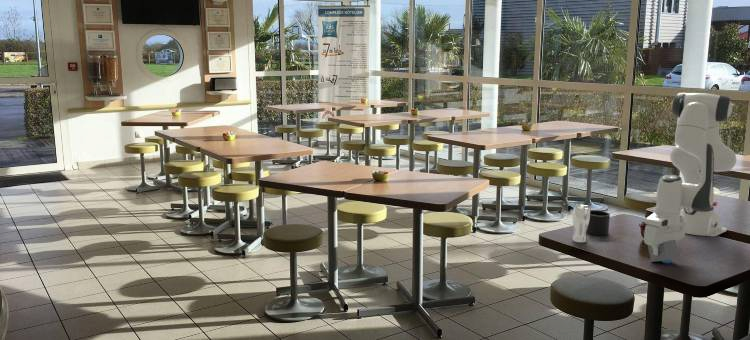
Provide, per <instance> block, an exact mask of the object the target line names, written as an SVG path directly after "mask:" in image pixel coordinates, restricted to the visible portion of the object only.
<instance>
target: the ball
mask: <svg viewBox="0 0 750 340" xmlns="http://www.w3.org/2000/svg"><path fill="white" fill-rule="evenodd" d="M673 260H674V259H671V260H665V261H661V262H662V263H663V264H670V263H672V262H673Z"/></svg>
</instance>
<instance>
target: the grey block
mask: <svg viewBox="0 0 750 340" xmlns="http://www.w3.org/2000/svg"><path fill="white" fill-rule="evenodd" d="M647 248H648V253H649V257H650V261H651V263H652V262H654V263H655V262H662V261H665V260H671V259H673V260H675V259H678V258H681V257H680V253H679V248H678V243H676V240H673V241H669V242H664V243H663V244H659V247H658V250H659V251H660V254H659V255H654V254H653V248H652V246H651V245H648V244H647Z"/></svg>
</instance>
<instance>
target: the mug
mask: <svg viewBox="0 0 750 340" xmlns="http://www.w3.org/2000/svg"><path fill="white" fill-rule="evenodd" d="M610 217H611V214H610V213H609V212H608V211H607V212H606V211H602V210H590V221H589V225H588V229H587V234H588V235H590V236H596V237H604V236H607V235H609V232H610V231H609V230H610Z"/></svg>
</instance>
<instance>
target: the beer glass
mask: <svg viewBox="0 0 750 340" xmlns="http://www.w3.org/2000/svg"><path fill="white" fill-rule="evenodd" d="M572 211H573V212H572V227H573V235H572V239H571V241H572V242H575V243H578V244H584V243H585V242H586V243H587V242H588V237H587V236H588V235H587V234H588V233H587V229H588V225H589V221H590V211H591V206H589V205H586V204H575V205H573V210H572Z"/></svg>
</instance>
